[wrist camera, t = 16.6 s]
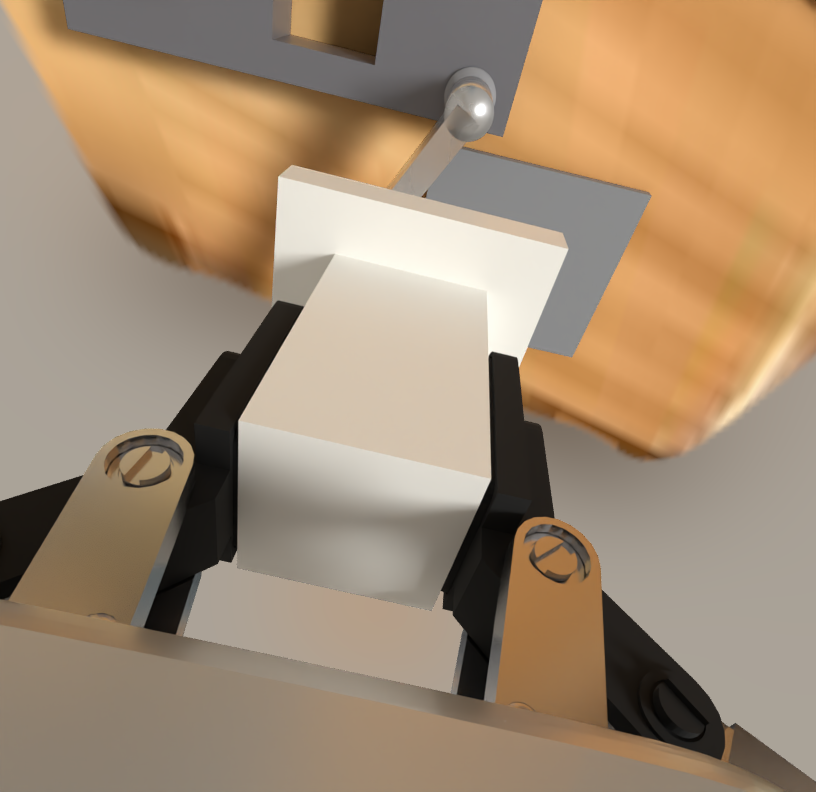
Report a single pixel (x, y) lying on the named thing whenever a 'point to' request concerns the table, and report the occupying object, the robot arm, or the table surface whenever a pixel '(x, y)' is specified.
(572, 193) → the mat
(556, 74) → the table surface
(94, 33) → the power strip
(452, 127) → the grey long bar
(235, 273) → the table surface
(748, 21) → the table surface
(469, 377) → the plug
